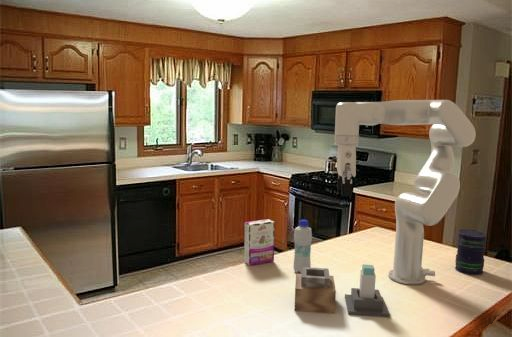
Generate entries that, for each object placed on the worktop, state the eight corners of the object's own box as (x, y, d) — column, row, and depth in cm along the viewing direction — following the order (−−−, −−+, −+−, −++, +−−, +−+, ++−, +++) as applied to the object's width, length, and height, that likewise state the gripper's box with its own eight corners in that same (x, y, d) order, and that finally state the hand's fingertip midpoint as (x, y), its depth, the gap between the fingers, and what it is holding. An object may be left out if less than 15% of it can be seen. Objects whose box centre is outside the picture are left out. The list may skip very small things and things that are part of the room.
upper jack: (332, 296, 141) (333, 266, 140) (334, 313, 129) (336, 281, 128) (295, 293, 142) (296, 264, 141) (294, 310, 131) (295, 278, 129)
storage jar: (455, 272, 164) (458, 234, 162) (454, 264, 173) (457, 228, 171) (484, 277, 161) (488, 238, 159) (481, 268, 170) (485, 231, 168)
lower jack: (382, 299, 139) (383, 287, 139) (389, 317, 128) (390, 304, 127) (344, 297, 141) (345, 285, 140) (348, 314, 129) (349, 301, 128)
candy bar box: (268, 257, 176) (269, 218, 174) (274, 261, 172) (275, 221, 170) (243, 261, 171) (244, 221, 169) (248, 266, 167) (249, 224, 165)
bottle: (310, 269, 165) (312, 217, 162) (311, 275, 158) (313, 222, 156) (292, 268, 166) (294, 217, 163) (292, 274, 159) (294, 221, 156)
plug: (372, 301, 136) (374, 264, 134) (373, 307, 132) (376, 269, 130) (359, 300, 136) (361, 263, 135) (360, 306, 132) (362, 268, 131)
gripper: (363, 143, 131) (360, 198, 134) (353, 139, 148) (351, 188, 151) (338, 142, 132) (336, 198, 134) (331, 138, 149) (329, 187, 151)
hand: (344, 192), depth 143 cm, fingers open, 9 cm apart
